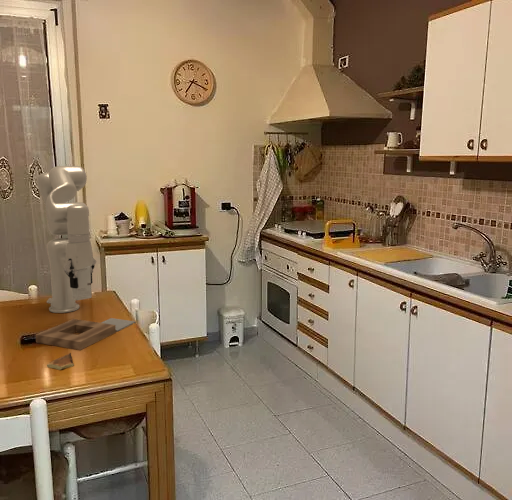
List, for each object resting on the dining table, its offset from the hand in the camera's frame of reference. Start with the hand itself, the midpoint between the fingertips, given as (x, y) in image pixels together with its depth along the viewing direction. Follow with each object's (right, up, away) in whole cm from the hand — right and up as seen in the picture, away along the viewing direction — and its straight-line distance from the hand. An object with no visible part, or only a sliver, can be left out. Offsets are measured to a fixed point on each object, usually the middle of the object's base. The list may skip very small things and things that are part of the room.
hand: (81, 285), depth 194 cm
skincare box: (0, -5, +1) cm, 5 cm away
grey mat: (+8, -17, +15) cm, 24 cm away
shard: (+1, -25, -24) cm, 34 cm away
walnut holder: (-2, -20, 0) cm, 20 cm away
